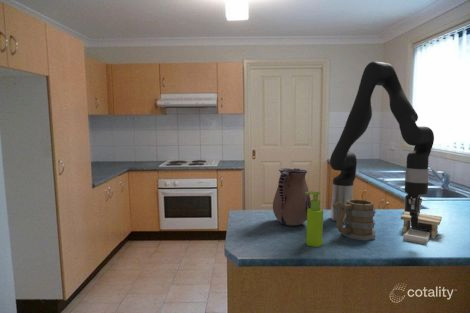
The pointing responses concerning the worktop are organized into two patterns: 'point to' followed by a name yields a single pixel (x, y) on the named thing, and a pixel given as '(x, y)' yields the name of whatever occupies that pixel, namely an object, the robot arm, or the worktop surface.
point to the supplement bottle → (407, 203)
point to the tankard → (356, 219)
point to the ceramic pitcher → (291, 197)
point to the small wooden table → (422, 222)
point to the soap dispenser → (314, 222)
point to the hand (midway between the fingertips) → (414, 226)
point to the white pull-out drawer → (416, 236)
